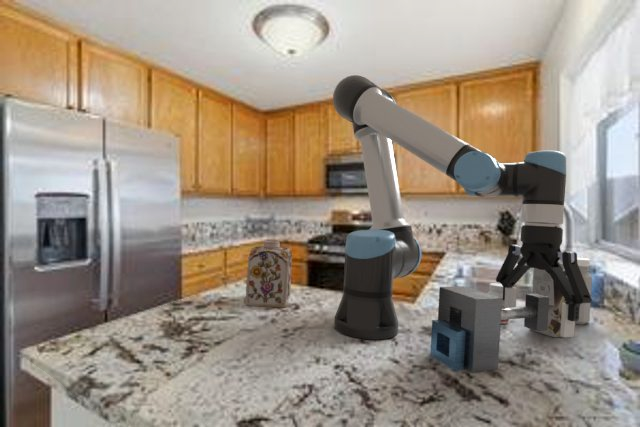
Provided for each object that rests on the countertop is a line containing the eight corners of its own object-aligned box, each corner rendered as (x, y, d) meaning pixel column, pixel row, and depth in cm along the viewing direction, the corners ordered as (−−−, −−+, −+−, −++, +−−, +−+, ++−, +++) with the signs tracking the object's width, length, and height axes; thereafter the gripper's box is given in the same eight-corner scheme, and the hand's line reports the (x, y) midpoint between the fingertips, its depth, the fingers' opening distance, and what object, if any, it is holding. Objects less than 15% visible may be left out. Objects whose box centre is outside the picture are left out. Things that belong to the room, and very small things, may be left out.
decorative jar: (286, 308, 97) (289, 244, 97) (244, 306, 98) (247, 241, 97) (290, 298, 109) (293, 240, 109) (253, 295, 109) (256, 238, 109)
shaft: (471, 336, 67) (473, 300, 67) (460, 331, 70) (462, 296, 70) (547, 330, 73) (549, 297, 73) (534, 325, 76) (536, 293, 76)
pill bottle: (511, 325, 93) (513, 287, 93) (488, 322, 94) (490, 285, 94) (504, 319, 98) (506, 283, 98) (483, 316, 99) (485, 281, 99)
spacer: (454, 370, 63) (456, 332, 63) (430, 355, 70) (432, 320, 70) (463, 369, 64) (465, 331, 64) (438, 354, 70) (440, 319, 70)
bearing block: (472, 372, 63) (476, 299, 63) (436, 350, 72) (439, 286, 72) (498, 369, 65) (502, 298, 65) (459, 348, 74) (463, 286, 74)
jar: (552, 321, 98) (556, 257, 98) (545, 312, 107) (548, 254, 107) (595, 327, 95) (598, 261, 94) (583, 318, 104) (587, 257, 104)
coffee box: (555, 338, 84) (559, 271, 84) (528, 329, 90) (532, 266, 90) (576, 334, 88) (579, 270, 88) (549, 326, 94) (552, 266, 94)
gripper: (619, 229, 64) (612, 345, 64) (506, 222, 87) (501, 308, 87) (591, 228, 61) (584, 349, 62) (482, 221, 85) (477, 309, 85)
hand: (535, 325), depth 74 cm, fingers open, 13 cm apart
